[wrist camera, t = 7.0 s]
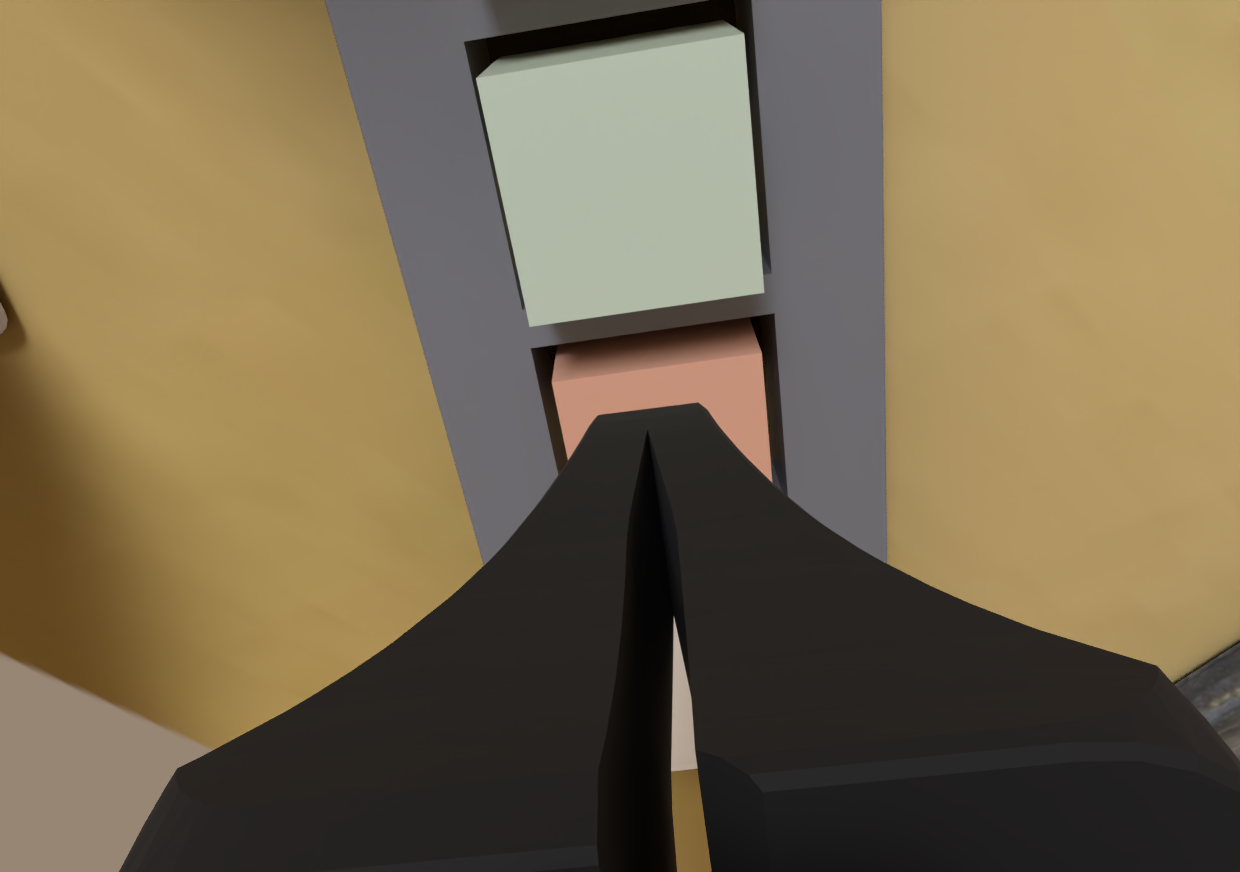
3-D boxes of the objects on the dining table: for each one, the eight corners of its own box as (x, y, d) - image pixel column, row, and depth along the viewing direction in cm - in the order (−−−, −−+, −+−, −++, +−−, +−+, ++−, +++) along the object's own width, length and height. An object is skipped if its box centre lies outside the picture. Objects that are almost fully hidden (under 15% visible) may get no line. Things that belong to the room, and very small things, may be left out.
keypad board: (548, 700, 25) (541, 771, 23) (94, -1031, 11) (-34, -1273, 9) (864, 663, 25) (888, 733, 23) (814, -1221, 10) (865, -1534, 8)
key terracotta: (590, 477, 21) (587, 551, 19) (560, 324, 19) (551, 382, 17) (756, 455, 21) (775, 527, 18) (742, 297, 19) (762, 353, 17)
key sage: (542, 271, 18) (529, 326, 15) (499, 56, 16) (476, 77, 13) (742, 240, 17) (764, 292, 15) (722, 19, 16) (744, 33, 13)
